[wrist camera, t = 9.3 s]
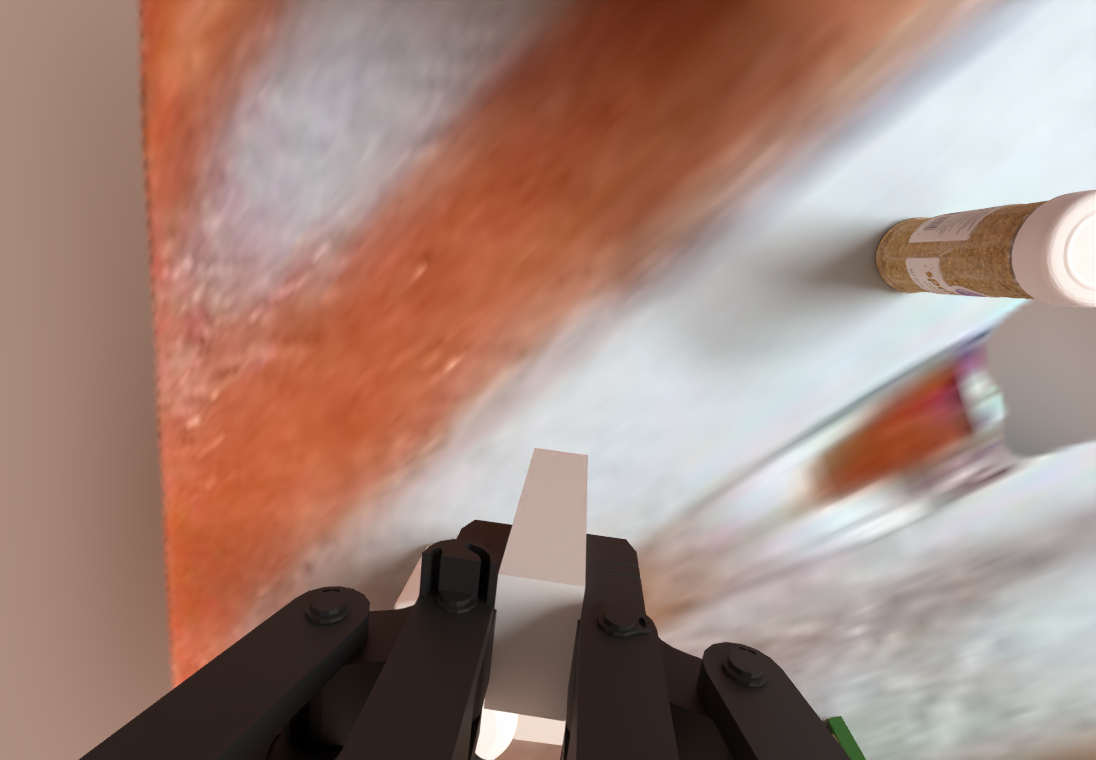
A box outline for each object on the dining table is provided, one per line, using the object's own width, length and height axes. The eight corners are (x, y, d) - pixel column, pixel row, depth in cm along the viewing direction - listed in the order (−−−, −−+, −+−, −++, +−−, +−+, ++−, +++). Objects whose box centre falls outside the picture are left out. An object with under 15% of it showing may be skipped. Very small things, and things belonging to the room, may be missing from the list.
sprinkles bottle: (872, 296, 36) (1041, 314, 23) (873, 220, 35) (1049, 193, 22) (950, 289, 36) (1166, 302, 22) (952, 212, 35) (1179, 180, 22)
